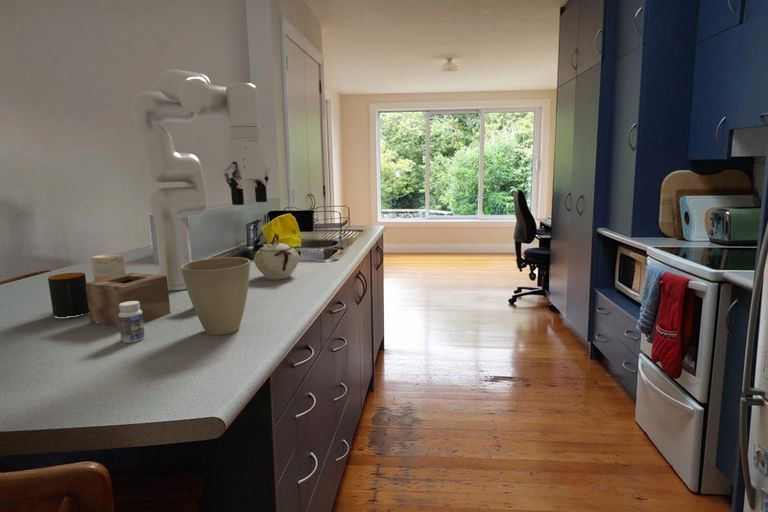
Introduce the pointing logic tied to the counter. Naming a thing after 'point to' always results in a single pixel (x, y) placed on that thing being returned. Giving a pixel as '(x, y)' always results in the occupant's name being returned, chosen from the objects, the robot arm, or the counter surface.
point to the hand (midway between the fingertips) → (250, 203)
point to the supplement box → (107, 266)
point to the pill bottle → (131, 322)
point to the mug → (68, 294)
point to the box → (127, 296)
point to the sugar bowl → (276, 260)
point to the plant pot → (218, 292)
